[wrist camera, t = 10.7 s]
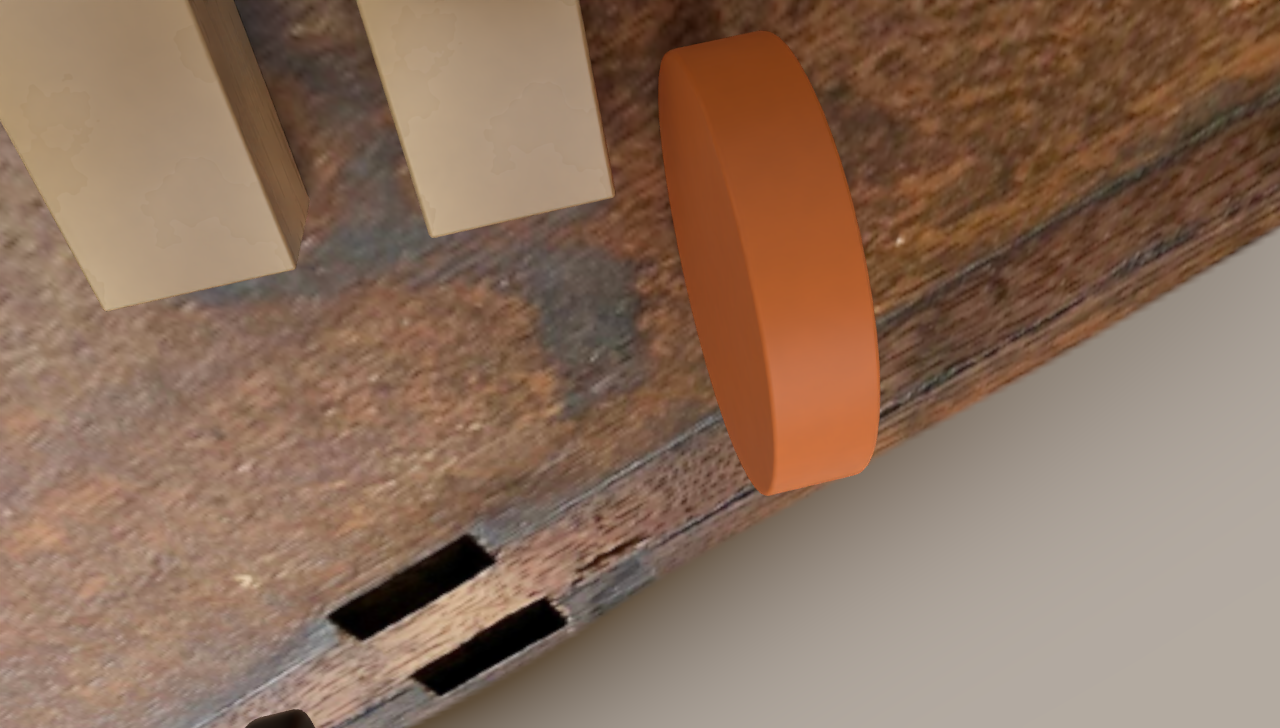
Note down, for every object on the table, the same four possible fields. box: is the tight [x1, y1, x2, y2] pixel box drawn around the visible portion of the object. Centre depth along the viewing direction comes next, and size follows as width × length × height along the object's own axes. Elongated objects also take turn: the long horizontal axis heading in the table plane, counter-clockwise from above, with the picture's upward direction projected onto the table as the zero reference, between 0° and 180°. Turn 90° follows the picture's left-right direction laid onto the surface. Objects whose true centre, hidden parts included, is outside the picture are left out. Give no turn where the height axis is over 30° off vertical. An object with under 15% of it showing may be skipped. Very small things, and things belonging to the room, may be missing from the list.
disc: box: [658, 30, 880, 496], centre depth 16 cm, size 2×7×7 cm, turn 9°
